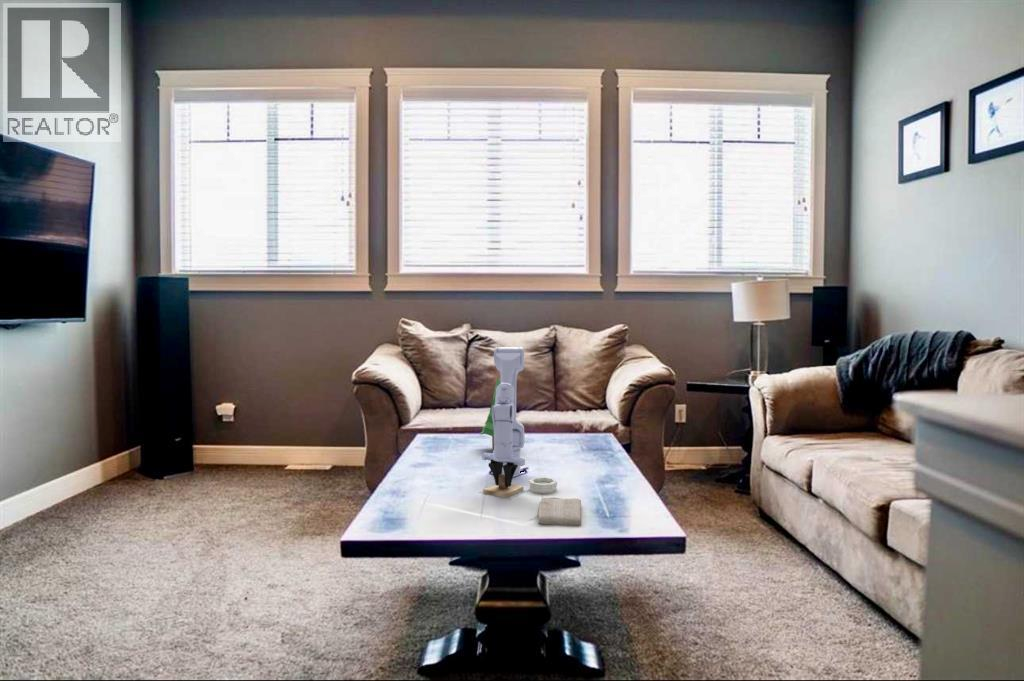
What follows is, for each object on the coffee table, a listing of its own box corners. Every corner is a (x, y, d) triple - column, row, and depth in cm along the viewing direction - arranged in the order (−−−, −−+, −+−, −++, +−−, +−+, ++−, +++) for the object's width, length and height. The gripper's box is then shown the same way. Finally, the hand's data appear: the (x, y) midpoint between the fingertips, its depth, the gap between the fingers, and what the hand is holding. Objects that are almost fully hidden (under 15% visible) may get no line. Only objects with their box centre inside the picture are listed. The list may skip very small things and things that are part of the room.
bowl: (524, 492, 200) (524, 481, 200) (538, 485, 207) (538, 475, 207) (548, 496, 195) (548, 486, 195) (561, 489, 202) (561, 479, 202)
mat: (478, 494, 197) (478, 492, 197) (496, 486, 206) (496, 484, 206) (510, 501, 191) (510, 499, 191) (528, 492, 199) (528, 490, 199)
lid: (483, 492, 197) (483, 476, 197) (499, 485, 205) (499, 469, 204) (507, 497, 192) (507, 480, 192) (523, 490, 200) (523, 473, 199)
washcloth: (580, 505, 188) (580, 495, 188) (582, 527, 170) (582, 516, 170) (540, 504, 189) (540, 494, 189) (537, 526, 171) (537, 515, 171)
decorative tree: (472, 449, 256) (471, 374, 254) (501, 443, 266) (501, 371, 264) (494, 455, 246) (493, 378, 244) (523, 449, 256) (523, 374, 254)
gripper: (476, 441, 198) (476, 484, 199) (515, 447, 190) (516, 492, 191) (489, 437, 204) (489, 479, 205) (528, 443, 196) (528, 486, 197)
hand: (503, 485), depth 198 cm, fingers closed on lid, 3 cm apart
